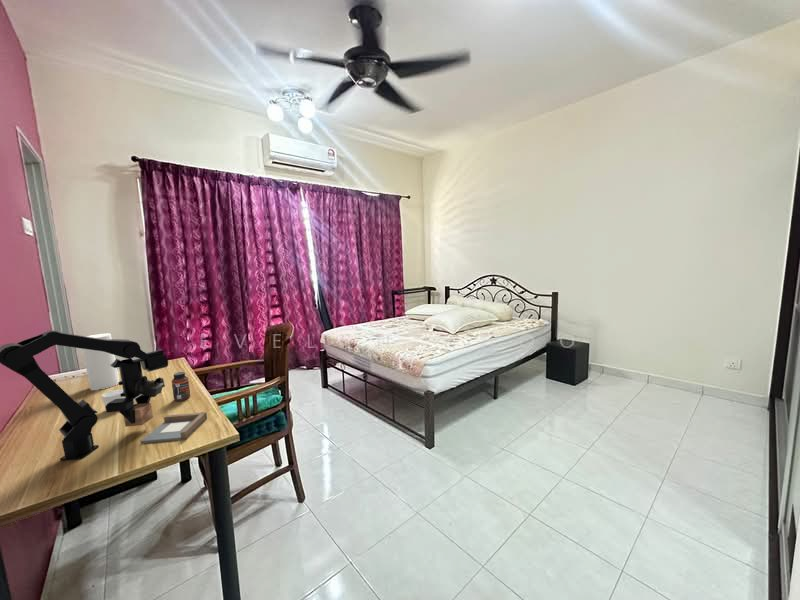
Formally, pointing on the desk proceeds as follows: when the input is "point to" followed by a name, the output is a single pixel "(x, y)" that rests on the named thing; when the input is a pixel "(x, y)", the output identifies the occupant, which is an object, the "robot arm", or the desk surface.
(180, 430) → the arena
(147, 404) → the cube
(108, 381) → the tall pillar cylinder
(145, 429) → the desk surface
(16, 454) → the desk surface
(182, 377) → the supplement bottle
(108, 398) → the cup
